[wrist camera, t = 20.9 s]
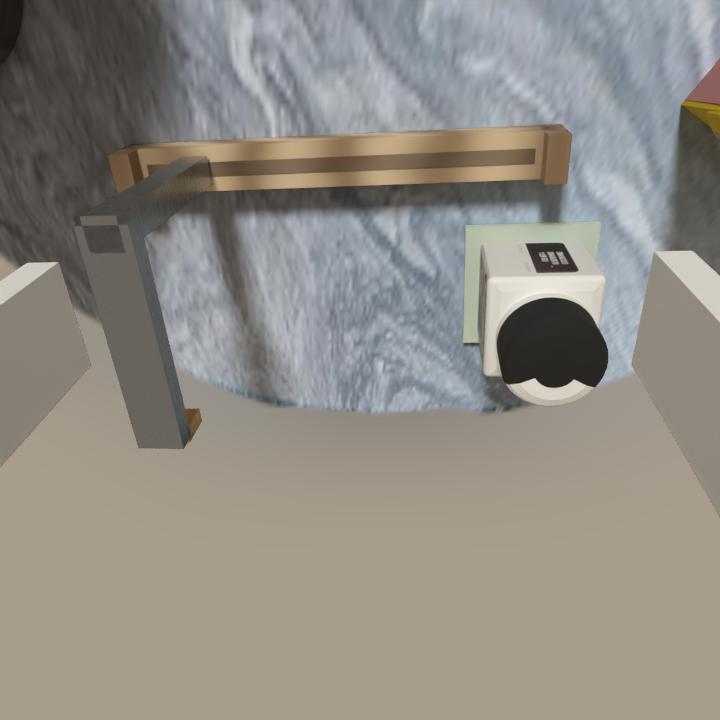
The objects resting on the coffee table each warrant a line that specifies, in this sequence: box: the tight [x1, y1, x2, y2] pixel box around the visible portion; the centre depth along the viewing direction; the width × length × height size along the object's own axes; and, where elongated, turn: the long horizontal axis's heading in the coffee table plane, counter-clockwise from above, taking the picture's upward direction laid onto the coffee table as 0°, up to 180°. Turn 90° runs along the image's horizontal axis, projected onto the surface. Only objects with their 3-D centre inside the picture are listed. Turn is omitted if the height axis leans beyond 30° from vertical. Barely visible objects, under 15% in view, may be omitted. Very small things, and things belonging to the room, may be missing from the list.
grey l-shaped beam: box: [73, 156, 212, 449], centre depth 42 cm, size 3×15×15 cm, turn 3°
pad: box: [463, 221, 601, 343], centre depth 49 cm, size 10×10×1 cm
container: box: [477, 241, 608, 406], centre depth 43 cm, size 8×8×13 cm
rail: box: [108, 124, 572, 194], centre depth 44 cm, size 32×3×4 cm, turn 94°
